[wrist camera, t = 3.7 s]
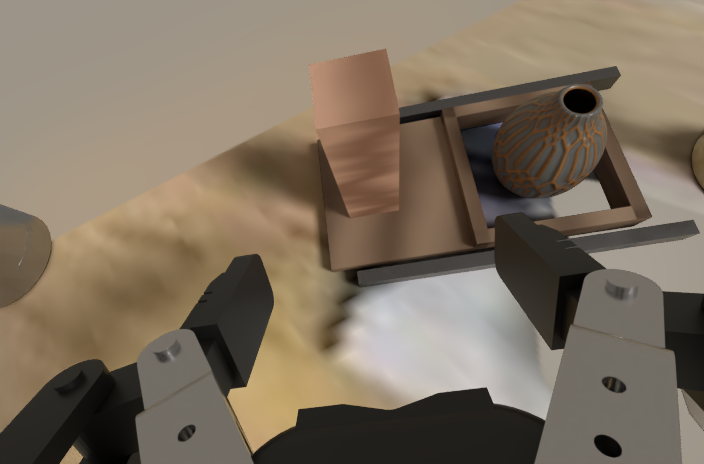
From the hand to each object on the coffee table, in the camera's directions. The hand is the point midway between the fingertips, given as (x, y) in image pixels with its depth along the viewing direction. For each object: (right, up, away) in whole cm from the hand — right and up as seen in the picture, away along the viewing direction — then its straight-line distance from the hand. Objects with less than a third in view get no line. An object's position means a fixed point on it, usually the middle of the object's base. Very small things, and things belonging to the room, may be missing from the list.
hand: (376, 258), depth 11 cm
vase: (+14, +6, +16) cm, 22 cm away
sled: (+8, +5, +16) cm, 19 cm away
